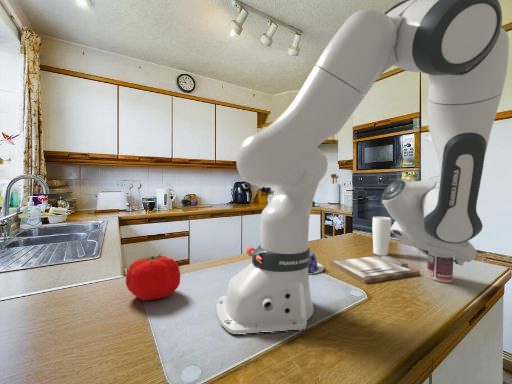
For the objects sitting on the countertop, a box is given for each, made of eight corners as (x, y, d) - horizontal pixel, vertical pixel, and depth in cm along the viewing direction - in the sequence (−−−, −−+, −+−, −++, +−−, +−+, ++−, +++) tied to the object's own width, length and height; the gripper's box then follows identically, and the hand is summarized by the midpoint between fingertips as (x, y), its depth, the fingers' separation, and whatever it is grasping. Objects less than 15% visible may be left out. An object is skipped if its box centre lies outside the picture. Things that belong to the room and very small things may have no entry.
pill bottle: (455, 280, 71) (457, 244, 71) (447, 285, 68) (450, 247, 67) (431, 273, 76) (433, 240, 76) (423, 277, 73) (425, 242, 72)
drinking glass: (390, 253, 96) (391, 217, 96) (389, 258, 91) (391, 219, 90) (372, 250, 100) (373, 215, 99) (370, 254, 94) (371, 217, 93)
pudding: (292, 275, 73) (292, 259, 73) (284, 262, 85) (285, 248, 85) (329, 275, 74) (330, 259, 74) (316, 261, 86) (317, 247, 86)
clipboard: (364, 283, 68) (364, 275, 68) (330, 264, 83) (330, 257, 83) (419, 274, 75) (419, 267, 75) (378, 258, 90) (378, 252, 90)
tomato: (176, 305, 55) (176, 262, 54) (118, 309, 53) (117, 265, 52) (183, 284, 66) (183, 248, 65) (135, 287, 64) (134, 250, 63)
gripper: (468, 226, 58) (491, 261, 62) (396, 214, 78) (416, 241, 81) (455, 245, 57) (479, 279, 61) (385, 228, 76) (406, 255, 80)
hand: (442, 257), depth 71 cm, fingers open, 8 cm apart
